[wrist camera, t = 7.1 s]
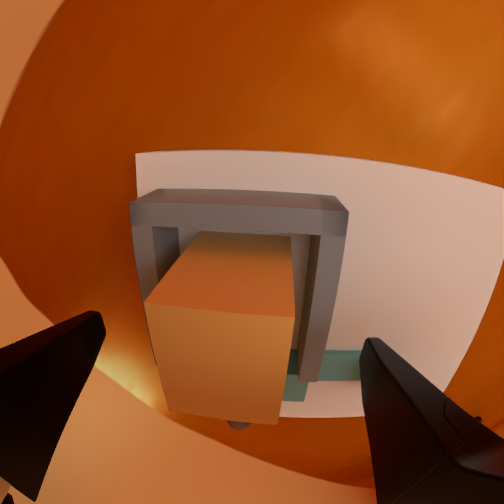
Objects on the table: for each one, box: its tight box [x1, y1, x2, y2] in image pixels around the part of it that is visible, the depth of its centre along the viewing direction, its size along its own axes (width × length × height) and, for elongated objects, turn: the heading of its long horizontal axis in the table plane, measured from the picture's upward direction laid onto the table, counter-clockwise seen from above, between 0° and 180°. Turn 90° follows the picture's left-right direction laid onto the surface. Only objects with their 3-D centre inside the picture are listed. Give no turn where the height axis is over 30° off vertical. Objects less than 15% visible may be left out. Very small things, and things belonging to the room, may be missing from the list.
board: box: [136, 150, 504, 418], centre depth 13 cm, size 15×18×1 cm
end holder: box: [129, 189, 349, 382], centre depth 11 cm, size 7×7×2 cm
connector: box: [144, 231, 295, 430], centre depth 11 cm, size 11×4×6 cm, turn 178°
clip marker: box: [288, 349, 362, 402], centre depth 13 cm, size 2×5×2 cm, turn 89°
